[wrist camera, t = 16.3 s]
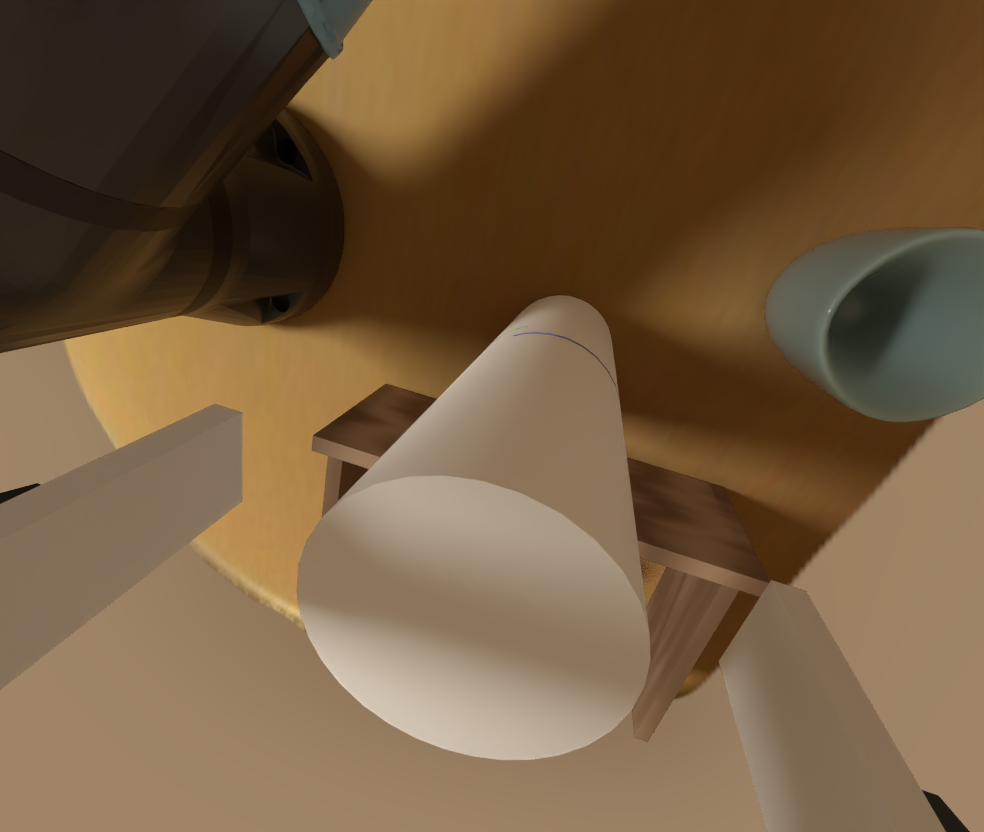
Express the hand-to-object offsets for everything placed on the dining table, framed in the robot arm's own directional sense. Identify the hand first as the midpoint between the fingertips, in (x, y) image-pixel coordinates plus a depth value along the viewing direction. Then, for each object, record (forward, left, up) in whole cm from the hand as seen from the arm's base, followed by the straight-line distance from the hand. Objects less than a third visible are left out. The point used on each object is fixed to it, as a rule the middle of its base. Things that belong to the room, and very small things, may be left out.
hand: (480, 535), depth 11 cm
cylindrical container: (0, 0, -23) cm, 23 cm away
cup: (+14, +7, -23) cm, 28 cm away
